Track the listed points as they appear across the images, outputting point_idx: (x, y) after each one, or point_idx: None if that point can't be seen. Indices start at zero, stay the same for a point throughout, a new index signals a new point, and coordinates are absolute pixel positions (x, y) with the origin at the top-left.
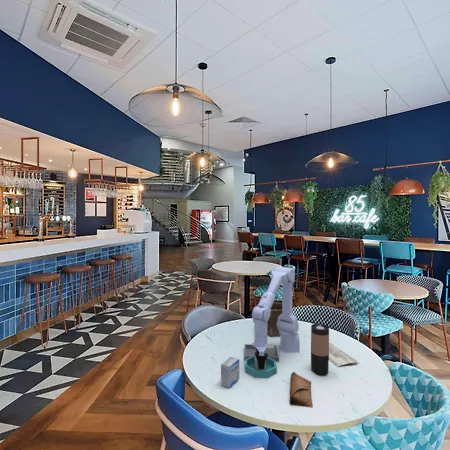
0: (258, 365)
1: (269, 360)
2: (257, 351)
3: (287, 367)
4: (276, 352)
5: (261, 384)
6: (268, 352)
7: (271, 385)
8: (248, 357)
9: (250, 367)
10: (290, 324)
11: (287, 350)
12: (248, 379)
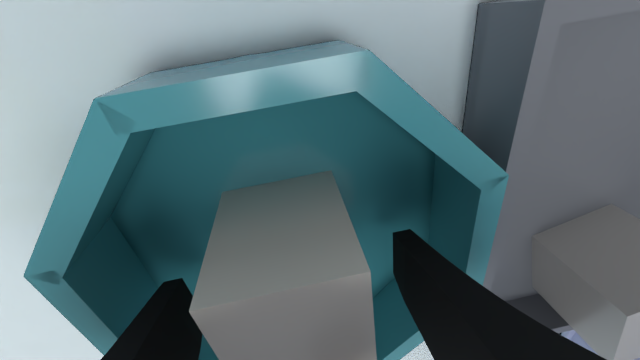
0: (126, 333)
1: (408, 316)
2: (473, 347)
3: None
4: (562, 319)
5: None
6: (570, 285)
7: (75, 332)
8: (513, 76)
9: (92, 201)
10: None
11: (584, 347)
12: (22, 141)
